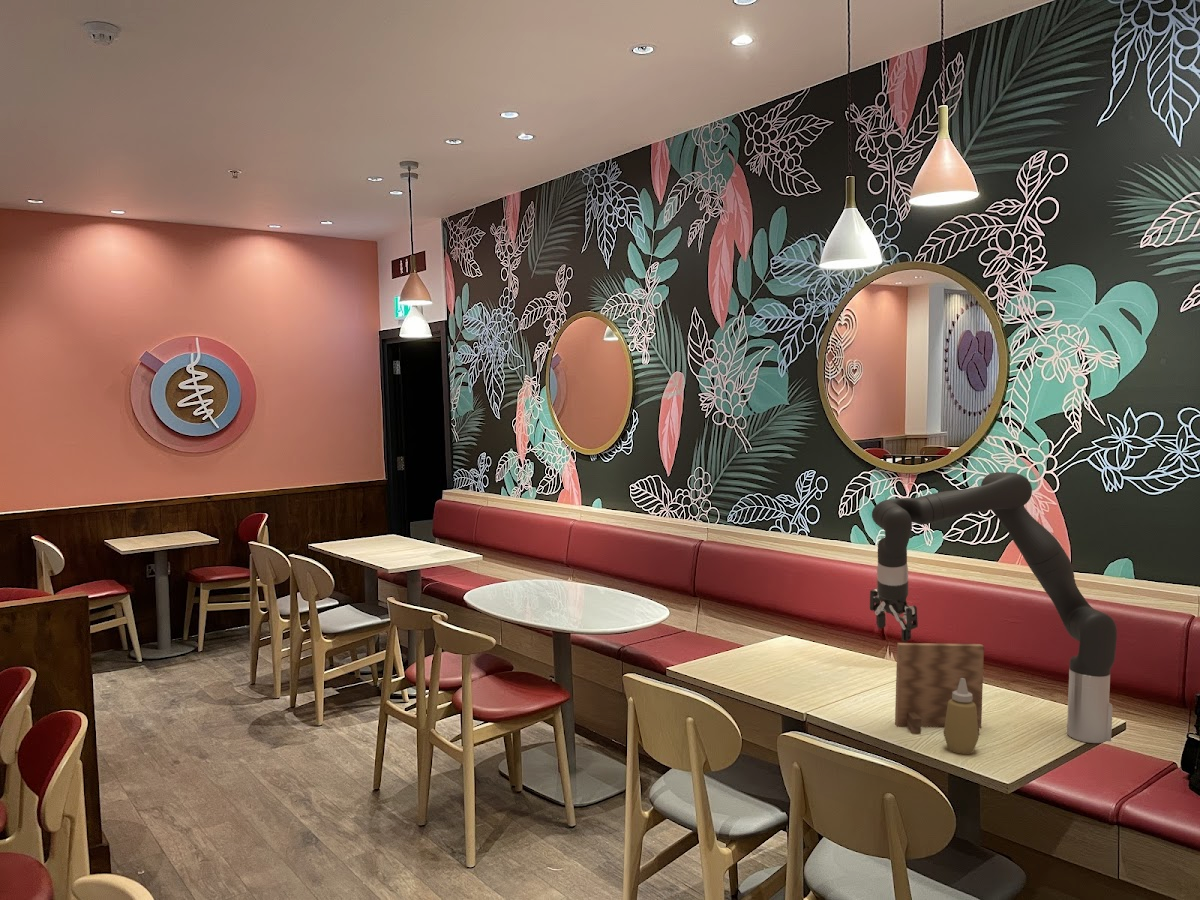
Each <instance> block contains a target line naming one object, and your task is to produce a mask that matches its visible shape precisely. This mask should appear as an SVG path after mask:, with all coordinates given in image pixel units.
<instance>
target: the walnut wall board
mask: <svg viewBox="0 0 1200 900" xmlns="http://www.w3.org/2000/svg"><path fill="white" fill-rule="evenodd" d="M896 644H897V645H896V671H895V673H896V675H895V676H896V679H895V707H894V708H895V710H894V711H895V712H894V714H895V715H894V725H895V726H896V727H899V728H905V727H906V728H907V729H908V731H910V732H911V734H912V735H921V732H922V728H944V727H945V720H946V713H947V706H948V701H949V700H951V699H952V692H953V691H956V690H957V689H958V685H959V681H960V678H965V680H966V685H967V690H968V692H970V693H971V694H972V702H974V703H975V704H976V709H977V722H978V736H980V729H982V717H983V716H982V715H983V714H982V713H983V689H984V688H983V685H984V684H983V682H984V681H983V680H984V657H985V656H984V655H985V651H984V650H985V645H983V644H982V643H981V644H980V643H938V642H937V643H936V642H935V643H929V642H927V643H925V642H920V643H919V642H915V643H914V642H910V643H909V642H897V643H896Z"/></svg>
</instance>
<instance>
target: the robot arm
mask: <svg viewBox="0 0 1200 900" xmlns="http://www.w3.org/2000/svg"><path fill="white" fill-rule="evenodd" d="M980 483H981V484H980V485H979V486H975V487H974V486H973V487H969V488H963V489H962V488H961V489H954V490H953V489H952V490H945V491H940V492H933V493H930V494H926V495H922V496H921V495H920V496H918V497H901V498H898V497H897V498H889V499H884V500H882V501H880V502H878V503H877V504H876V505H875V506H874V507H873V508H872V511H871V518H872V521H873V522H874V523H875V525H876V526H878V527H879V528H881V529H882V530H883V531H884V534H885V535H884V537H882V538H881V539H880V540H879V541H878V544H877V566H876V584H877V587H876V588H874V589H872V590H870V592H869V610H870V611H873V612H874V614H875V615H876V617H875V618H876V620H875V621H876V625H877V628H878V629H884V628H885V627H886V624H887V623H886V613H887V614H890V615H891V616H893V617H894V618H895V620H896V622H898V623H899V624H900V627H901V641H902V642H903V643H907V642H908V641H910V640H911V638H912V630H914V629H917V628H918V626H919V625H918V624H919V623H918V608H917V606H916V605H909V604H908V602H907V599H908V595H909V568H908V549H907V548H908V545H909V541H910V537H911V534H912V529H913V528H912V527H913V523H914V524H917V525H921V526H922V525H929V524H933V523H938V522H942V521H945V520H950V519H954V518H958V517H962V516H964V515H969V514H973V513H978V512H979V513H980V512H986V511H992V513H993V514H994V515H995V516H996V517H997V519H998V520H999V521H1000V523H1001V524H1002V525H1003V528H1004V529H1006V531H1007V533H1008V534H1009V536H1010V538H1011V540H1012V541H1013V542H1014V545H1015V546H1016V547H1017V548H1018V550H1019V553H1021V555H1022V557H1023V558H1024V561H1025V563H1026V564H1027V565H1028V567H1029V569H1030V570H1031V572H1032V573H1033V575H1034V577H1035V578H1036V579H1037V581H1038V582H1039V585H1041V587H1042V588H1043V590H1044V591H1045V593H1046V594H1047V596H1048V597H1049V598H1050V600H1051V602H1052V604H1053V605H1054V607H1055V609H1056V611H1057V613H1058V615H1059V618H1060V619H1061V622H1062V624H1063V626H1064V627H1065V629H1066V632H1067V634H1069V635H1070V637H1072V638H1073V639H1074V640H1075V641H1077V642H1079V644H1078V645H1079V646H1078V654H1077V655H1074V656H1072V657H1070V659H1069V667H1068V669H1069V670H1068V695H1067V697H1068V698H1067V716H1066V717H1067V719H1066V720H1067V722H1066V734H1067V736H1068V735H1069V736H1068V737H1069V738H1071V737H1072V738H1071V739H1074V740H1076V741H1080V742H1084V743H1088V744H1089V743H1090V744H1103V743H1106V742H1111V741H1112V730H1113V729H1112V728H1113V727H1112V725H1113V708H1114V706H1113V704H1112V703H1110V688H1111V669H1112V667H1113V665H1114V663H1115V659H1116V648H1117V641H1118V639H1117V638H1118V633H1117V632H1118V631H1117V630H1118V629H1117V625H1116V623H1115V621H1114V619H1113V618H1112V617H1111V616H1110V615H1109V614H1106V613H1105V612H1102V611H1099V610H1097V609H1095V608H1094V607H1092V606H1091V605H1090V603H1089V602H1088V601H1087V600H1086V599H1085V597H1084V595H1083V594H1082V593H1081V591H1080V589H1079V588H1078V586H1077V583H1076V580H1075V572H1074V568H1073V564H1072V561H1071V560H1070V558H1069V556H1068V554H1067V553H1066V551H1065V549H1064V548H1063V546H1062V545H1061V543H1060V542H1059V541H1058V539H1057V538H1056V537H1055V536H1054V535H1053V533H1051V532H1050V531H1049V530H1048V529H1047V528H1045V526H1044V525H1042V524H1041V523H1040V522H1039V521H1037V520H1036V519H1035V518H1034V517H1033V515H1031V514H1030V512H1029V511H1028V510H1027V508H1026V507H1025V505H1027V503H1028V502H1029V501H1030V500H1031V498H1032V493H1033V487H1032V484H1031V482H1030V480H1029V479H1028V478H1027V477H1025V476H1024V475H1022V474H1019V473H1016V472H1010V471H1009V472H1003V471H1001V472H998V471H997V472H991V473H989V474H986V475H985V476H984V477H983V479H982V481H981V482H980ZM902 614H903V616H901V615H902Z"/></svg>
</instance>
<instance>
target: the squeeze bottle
mask: <svg viewBox="0 0 1200 900" xmlns="http://www.w3.org/2000/svg"><path fill="white" fill-rule="evenodd" d="M943 728H944V729H943V736H944V740H945V743H946V746H947V749H948V750H949V751H950V752H953V753H955V754H962V755H968V754H969V755H970V754H972V753H973V752H974V751H975V748H976V745H977V743H978V741H979V736H980V735H978V722H977V709H976V704H975V703H974V702H972V694H971V693H970V692H968V690H967V685H966V680H965V678H960V681H959V685H958V689H957V690H956V691H953V692H952V699H951V700H949V701H948V706H947V713H946V720H945V727H943Z"/></svg>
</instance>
